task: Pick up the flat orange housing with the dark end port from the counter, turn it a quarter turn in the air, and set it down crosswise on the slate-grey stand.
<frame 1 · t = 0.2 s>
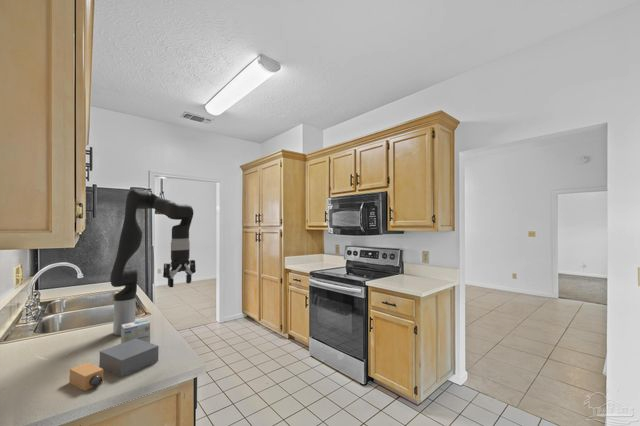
hand: (179, 285, 127), 29 cm above the worktop, tool pointing down, fingers open, 8 cm apart
stand: (129, 363, 116), on the worktop
housing: (86, 383, 102), on the worktop
light bulb box: (135, 347, 131), on the worktop
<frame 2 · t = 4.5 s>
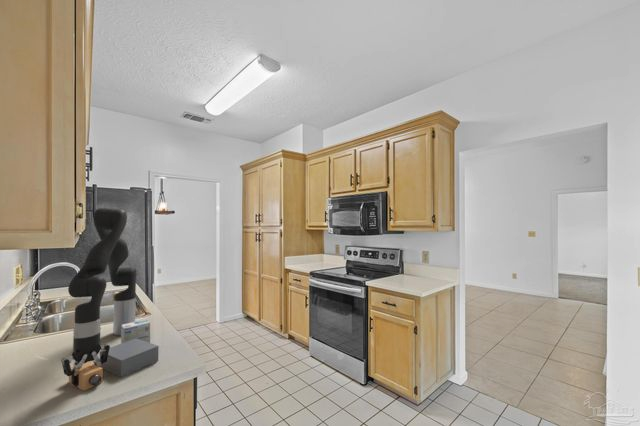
hand: (86, 380, 102), 1 cm above the worktop, tool pointing down, fingers closed on housing, 5 cm apart
housing: (85, 382, 102), on the worktop, touching gripper
everything else where it was.
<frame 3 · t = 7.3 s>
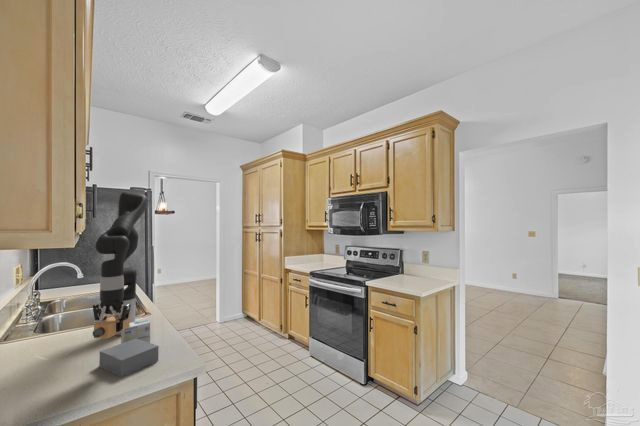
hand: (111, 330, 111), 15 cm above the worktop, tool pointing down, fingers closed on housing, 5 cm apart
housing: (112, 332, 111), point 14 cm above the worktop, touching gripper
everything else where it was.
when the fingers open (8 cm above the worktop, at t = 10.1 s): housing drops 2 cm, resting on stand.
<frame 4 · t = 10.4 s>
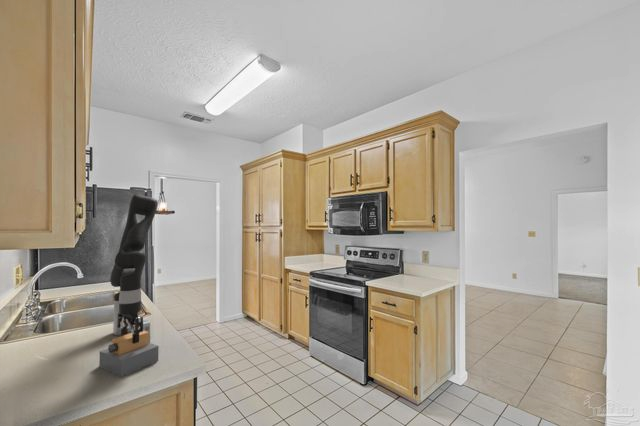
hand: (129, 340, 116), 9 cm above the worktop, tool pointing down, fingers open, 8 cm apart
housing: (131, 347, 116), point 6 cm above the worktop, touching stand
everything else where it was.
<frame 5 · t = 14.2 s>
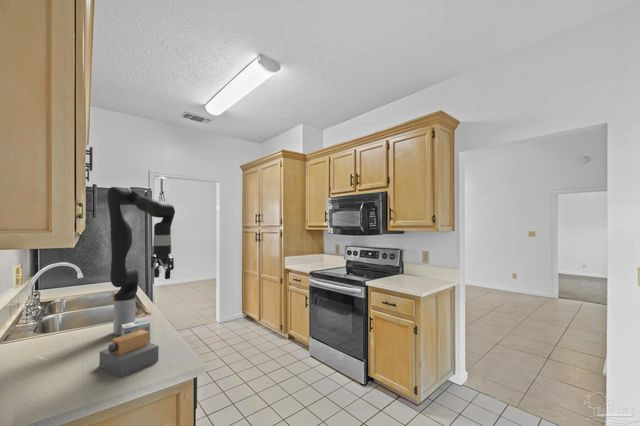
hand: (161, 278, 138), 30 cm above the worktop, tool pointing down, fingers open, 8 cm apart
nothing on the worktop moved.
at the end: housing inside the target area (0.5 cm from its centre), point 6.0 cm above the worktop; housing tilted 0°; the gripper is holding nothing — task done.
